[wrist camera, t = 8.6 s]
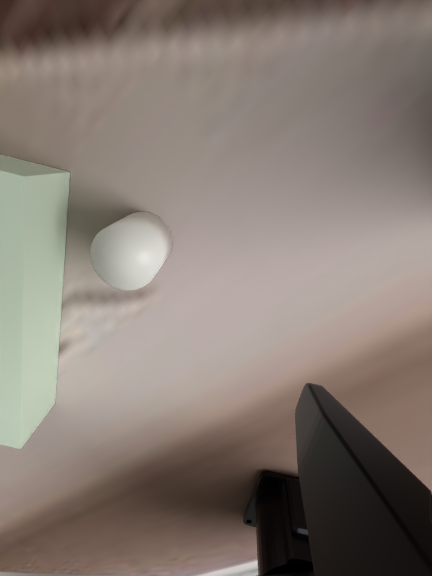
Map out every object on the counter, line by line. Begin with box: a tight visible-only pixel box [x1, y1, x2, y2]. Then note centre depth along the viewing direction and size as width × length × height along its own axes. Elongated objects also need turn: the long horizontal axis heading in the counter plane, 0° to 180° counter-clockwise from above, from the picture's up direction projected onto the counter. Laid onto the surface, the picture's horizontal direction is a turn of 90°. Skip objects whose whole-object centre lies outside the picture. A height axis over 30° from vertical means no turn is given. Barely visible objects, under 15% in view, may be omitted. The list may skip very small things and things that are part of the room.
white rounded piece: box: [90, 212, 173, 290], centre depth 19 cm, size 4×4×4 cm
